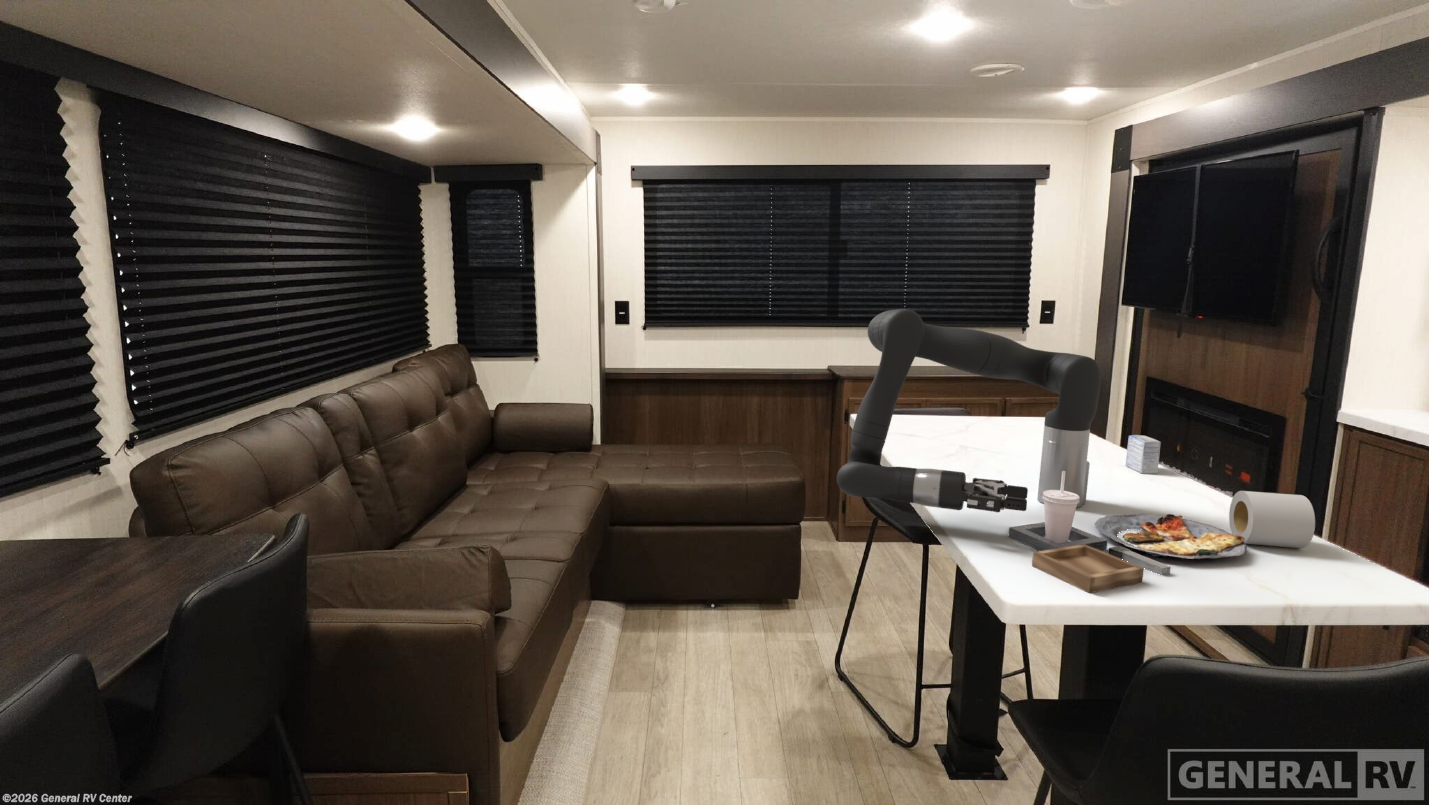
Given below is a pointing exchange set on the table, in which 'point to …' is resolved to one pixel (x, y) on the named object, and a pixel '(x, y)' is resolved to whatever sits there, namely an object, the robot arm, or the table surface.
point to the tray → (1087, 568)
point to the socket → (1034, 539)
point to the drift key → (1139, 560)
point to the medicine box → (1143, 454)
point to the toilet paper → (1272, 519)
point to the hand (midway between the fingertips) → (1027, 499)
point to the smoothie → (1059, 512)
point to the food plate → (1172, 536)
